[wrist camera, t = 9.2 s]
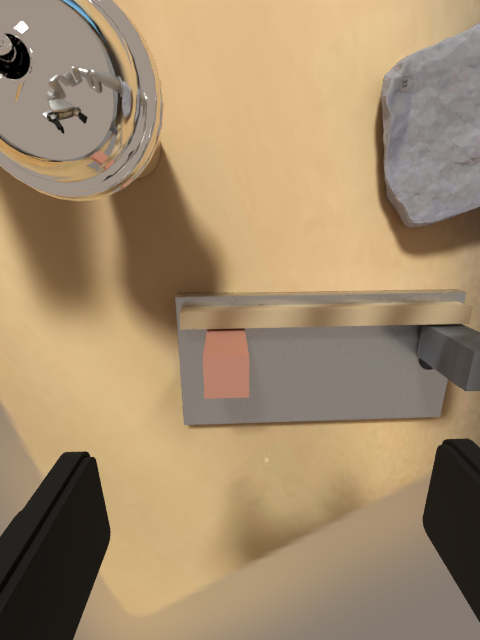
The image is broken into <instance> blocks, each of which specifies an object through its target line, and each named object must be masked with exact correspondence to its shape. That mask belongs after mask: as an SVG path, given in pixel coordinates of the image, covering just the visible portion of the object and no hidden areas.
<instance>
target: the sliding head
mask: <svg viewBox="0 0 480 640" xmlns="http://www.w3.org/2000/svg"><path fill="white" fill-rule="evenodd" d="M203 377H204V399H213V398H248V397H249V352H248V346H247V340H246V334H245V329H244V328H235V329H207V334H206V340H205V346H204V352H203Z"/></svg>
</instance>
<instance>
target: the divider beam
mask: <svg viewBox="0 0 480 640" xmlns="http://www.w3.org/2000/svg"><path fill="white" fill-rule="evenodd" d="M471 311H472V306H469V305H466V304H463V303H461V302H418V303H363V304H307V305H252V306H196V307H182V308H181V310H180V312H179V314H180V329H181V330H187V329H235V328H283V327H331V326H380V325H422V327H421V333H420V339H419V344H418V350H417V356H418V357H419V358H420V359H422V360H423V361H425V362H426V363H427V364H428V365H429V366H431V367H432V368H433V369H435V370H436V371H438V372H439V373H440V374H442V375H443V376H444V377H446V378H447V379H449V380H450V381H451V382H453V383H454V384H455V385H457V386H458V387H460V388H462V389H463V390H465V391H480V332H478V331H475V330H473V329H471V328H469V327H466V326H464V325H462V324H469V320H470V316H471Z"/></svg>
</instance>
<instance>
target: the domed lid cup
mask: <svg viewBox="0 0 480 640" xmlns="http://www.w3.org/2000/svg"><path fill="white" fill-rule="evenodd" d="M163 109H164V103H163V93H162V84H161V80H160V76H159V73H158V69H157V65H156V62H155V59H154V57H153V55H152V53H151V51H150V49H149V46H148V44H147V42H146V40H145V38H144V37H143V35H142V34H141V32H140V31H139V29H138V28H137V27H136V25H135V24H134V22H133V21H132V19H131V18H130V17H129V16H128V15H127V14H126V13H125V12H124V11H123V10H122V9H121V8H120V7H119V6H118V5H117V4H116V3H115V2H114V1H113V0H0V166H1V167H2V168H3V169H4V170H6V171H7V172H8V173H9V174H11V175H12V176H13V177H14V178H16V179H17V180H19V181H21V182H23V183H24V184H26V185H28V186H30V187H32V188H33V189H35V190H37V191H39V192H41V193H43V194H46V195H49V196H52V197H55V198H58V199H64V200H70V201H93V200H97V199H101V198H105V197H108V196H111V195H113V194H115V193H117V192H119V191H121V190H122V189H124V188H126V187H127V186H128V185H129V184H131V183H132V182H133V181H134V180H135V179H140V178H143V177H145V176H147V175H148V174H150V173H151V172H152V171H153V170H154V168H155V167H156V165H157V163H158V161H159V158H160V152H161V145H160V139H159V137H160V133H161V129H162V124H163Z"/></svg>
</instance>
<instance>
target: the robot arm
mask: <svg viewBox="0 0 480 640" xmlns="http://www.w3.org/2000/svg"><path fill="white" fill-rule="evenodd" d="M423 526H424V529H425V532H426V533H427V535H428V537H429V538H430V540H431V542H432V544H433V545H434V547H435V549H436V550H437V552H438V554H439V555H440V557H441V559H442V560H443V562H444V564H445V565H446V567H447V569H448V570H449V572H450V574H451V575H452V577H453V579H454V580H455V582H456V583H457V585H458V586H459V589H460V590H461V592H462V593H463V595H464V597H465V598H466V600H467V602H468V604H469V605H470V607H471V609H472V610H473V612H474V614H475V615H476V617H477V619H478V620H479V622H480V448H479V447H478V446H477V445H476V444H475V443H474V442H473V441H472V440H470V439H447V440H444V441H443V443H442V445H439V446H438V448H437V451H436V456H435V461H434V466H433V470H432V475H431V480H430V485H429V490H428V495H427V499H426V504H425V509H424V514H423ZM109 541H110V526H109V521H108V516H107V511H106V506H105V501H104V496H103V492H102V487H101V482H100V477H99V472H98V467H97V462H96V459H95V458H94V457H90V455H89V453H88V452H65V453H63V454H62V455H61V456H60V458H59V459H58V460H57V462H56V463H55V465H54V466H53V468H52V469H51V470H50V472H49V473H48V475H47V476H46V477H45V479H44V480H43V482H42V483H41V485H40V486H39V488H38V489H37V490H36V492H35V493H34V494H33V496H32V497H31V499H30V500H29V501H28V503H27V504H26V506H25V507H24V508H23V510H22V511H20V512H19V513H18V514H17V515H16V516H15V517H14V519H13V520H12V521H11V523H10V524H9V525H8V527H7V528H6V530H5V531H4V533H3V534H2V535H1V537H0V640H73V638H74V635H75V633H76V630H77V627H78V624H79V622H80V619H81V617H82V614H83V611H84V609H85V606H86V603H87V601H88V598H89V595H90V593H91V590H92V587H93V585H94V582H95V579H96V577H97V574H98V571H99V569H100V566H101V563H102V561H103V558H104V555H105V553H106V550H107V548H108V544H109Z"/></svg>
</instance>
